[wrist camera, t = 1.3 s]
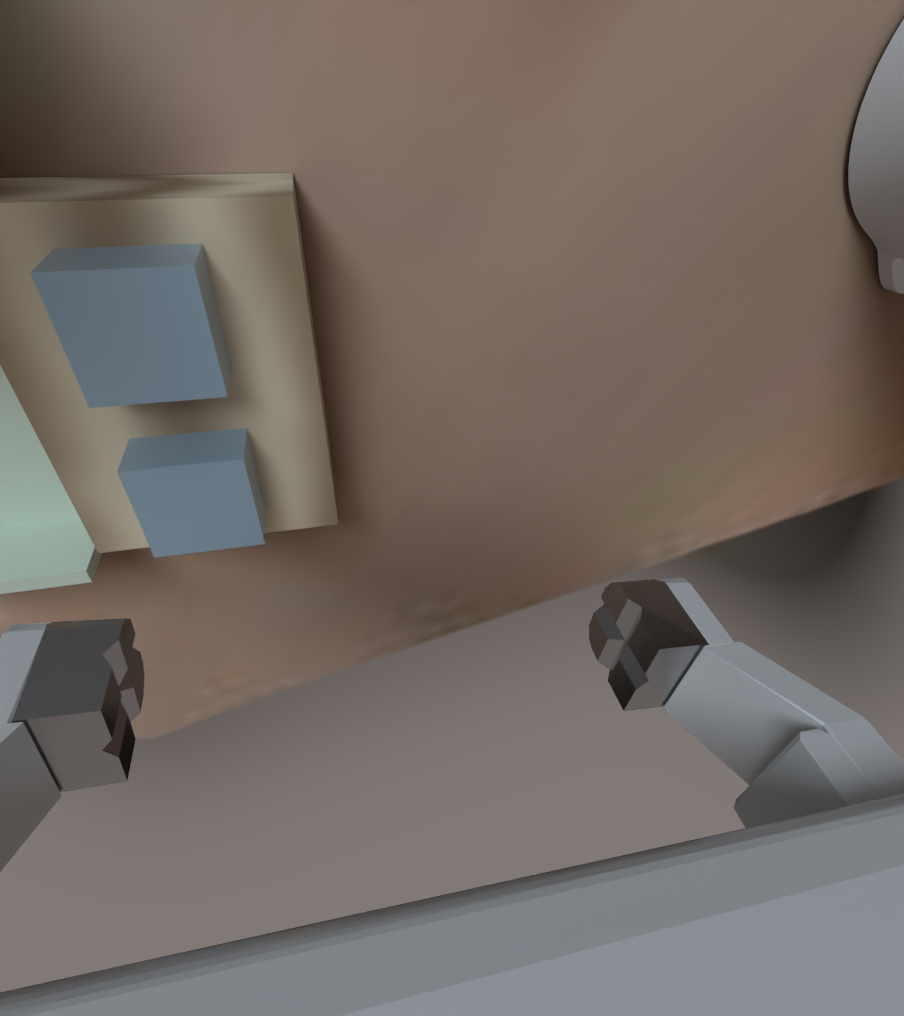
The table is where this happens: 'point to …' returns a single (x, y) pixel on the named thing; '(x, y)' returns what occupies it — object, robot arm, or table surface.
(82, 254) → the tile
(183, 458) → the tile
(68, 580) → the tray
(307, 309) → the beige shallow box
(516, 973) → the robot arm
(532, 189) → the table surface
